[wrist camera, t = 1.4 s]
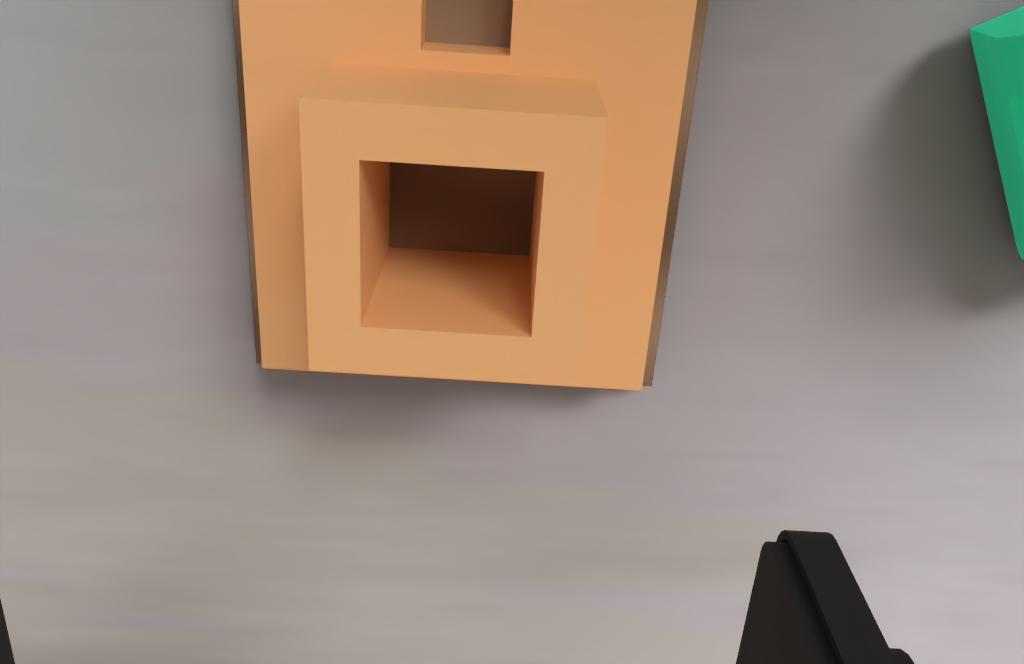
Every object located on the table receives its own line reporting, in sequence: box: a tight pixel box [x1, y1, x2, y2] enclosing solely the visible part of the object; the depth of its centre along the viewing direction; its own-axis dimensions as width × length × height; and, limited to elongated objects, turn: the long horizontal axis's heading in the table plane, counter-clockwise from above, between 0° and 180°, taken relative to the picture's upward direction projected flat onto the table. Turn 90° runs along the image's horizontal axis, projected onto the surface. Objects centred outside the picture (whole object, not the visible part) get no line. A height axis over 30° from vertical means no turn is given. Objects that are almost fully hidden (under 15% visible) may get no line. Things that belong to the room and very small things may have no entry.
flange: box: [239, 0, 697, 391], centre depth 23 cm, size 11×11×5 cm
